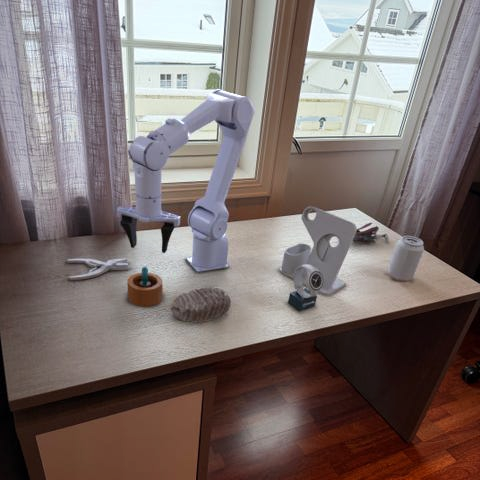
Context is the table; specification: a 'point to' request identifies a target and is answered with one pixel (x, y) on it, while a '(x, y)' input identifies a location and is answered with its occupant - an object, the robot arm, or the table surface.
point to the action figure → (368, 234)
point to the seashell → (201, 304)
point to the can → (406, 258)
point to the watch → (305, 297)
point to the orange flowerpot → (145, 290)
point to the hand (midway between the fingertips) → (149, 248)
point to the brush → (145, 278)
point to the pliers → (109, 265)
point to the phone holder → (321, 249)
